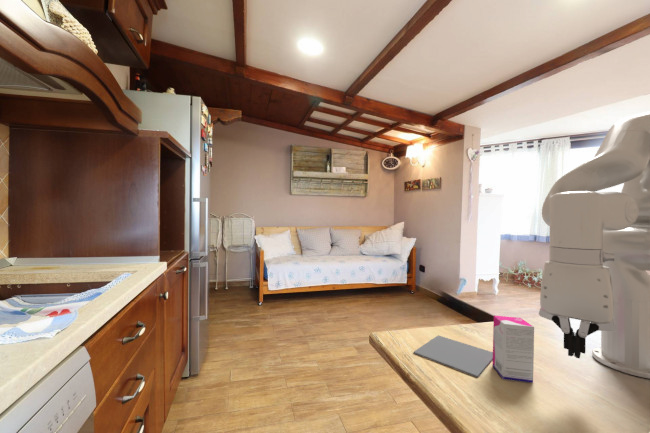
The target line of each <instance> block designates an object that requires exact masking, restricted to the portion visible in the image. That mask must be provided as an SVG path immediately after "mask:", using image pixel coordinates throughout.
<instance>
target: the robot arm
mask: <svg viewBox="0 0 650 433" xmlns="http://www.w3.org/2000/svg"><path fill="white" fill-rule="evenodd" d="M619 185H623V186H622V189H621V192H618V191H605V192H603V191H602V192H601V190H605V189H609V188H612V187H616V186H619ZM598 191H600V192H598ZM547 193H548V194H546V195H547V196H546V197H545V198H544V202H543V203H542V208H541V217H542V219H543V222H544V224H546V225H547V226H549V254H548V255H549V258H548V259H549V260H545V262H544V266H543V270H542V276H541V283H540V284H541V285H540V296H539V305H540V309H539V312H538V315H539V316H540V317H541V318H543V319H547V320H549V321H552V322H553V323H554V324H555V325H556V326H557V327H558V328H559V329H560V330H561V331H562V333H563V349H565V350H567V355H568V357H573V356H574V357H575V358H576V359H580V358H581V354H584V355H586V342H587V341H586V338H587V337H588V336H589V335H591V334H593V333H596V332H599V331H600V334H601V335H600V336H601V337H600V338H601V339H600V340H601V343H600V345H601V347H595V348H593V349H592V350H591V351H592V354H591V355H592V357H593V359H595V360H596V361H598V363H601V364H602V365H604V366H607V367H608V368H611V369H613V370H616V371H619V372H622V373H623V374H628V375H631V376H636V377H639V378H645V379H648V380H649V379H650V274H649V273H648V272H650V111H647V112H642V113H638V114H634V115H631V116H627V117H624V118H621V119H619V120H618V121H617V122H615V123H614V124H612V126H610V127H609V129H608V131H607V132H606V135H605V136H604V138H603V140H602V142H601V144H600V147H599V148H598V149H597V151H596V153H595V155H594V157H593V158H591V159H589V160H587V161H586V162H584V163H582V164H580V165H578V166H576V167H575V168H573V169H572V170H571V171H569V172H567V173H565V174H564V175H562V176H561V177H560V178H558V180H557V181H555V182H554V183H553V185H552V187H551V188H550V190H549V192H547ZM571 319H573V320H579V321H580V323H579V327H578V328H577V329H576V332H575V331H574V328H572V324H571Z"/></svg>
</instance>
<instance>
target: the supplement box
mask: <svg viewBox="0 0 650 433" xmlns="http://www.w3.org/2000/svg"><path fill="white" fill-rule="evenodd" d="M492 330H493V334H492V337H493V338H492V352H493V360H492V367H493V369H494V370H495V371H496V373H497V374H498V375H499V377H501V379H502V380H504V381H505V380H506V381H515V382H522V383H531V384H533V383H534V364H535V363H534V354H535V353H534V352H535V345H534V344H535V327H534V326H533V325H532V324H530V323H529V322H528V321H526V320H524V319H523V318H522V317H516V316H503V315H493V329H492Z"/></svg>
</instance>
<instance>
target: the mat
mask: <svg viewBox="0 0 650 433" xmlns="http://www.w3.org/2000/svg"><path fill="white" fill-rule="evenodd" d="M413 354H415V355H417V356H419V357H421V358H422V357H423V358H425V359H427V360H431V361H433V362H435V363H437V364H440V365H443V366H444V367H445V366H446V367H448V368H451V369H453V370H456V371H458V372H461V373H464V374H467V375H470V376H472V377H475V378H479V377H480V376H481V375H482V374H483V372H484V371H485V370H486V369H487V367H488V366H489V365H490V364H491V363H492V362H493V351H490V350H488V349H483V348H480V347H477V346H473V345H471V344H467V343H464V342H461V341H457V340H454V339H452V338H448V337H445V336H441V335H439V334H438V335H436V336H435V337H433V338H432V339H430V340H429V341H427V342H426V343H424V344H423V345H422V346H420V347H419V348H417V349H415V350H413Z"/></svg>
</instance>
